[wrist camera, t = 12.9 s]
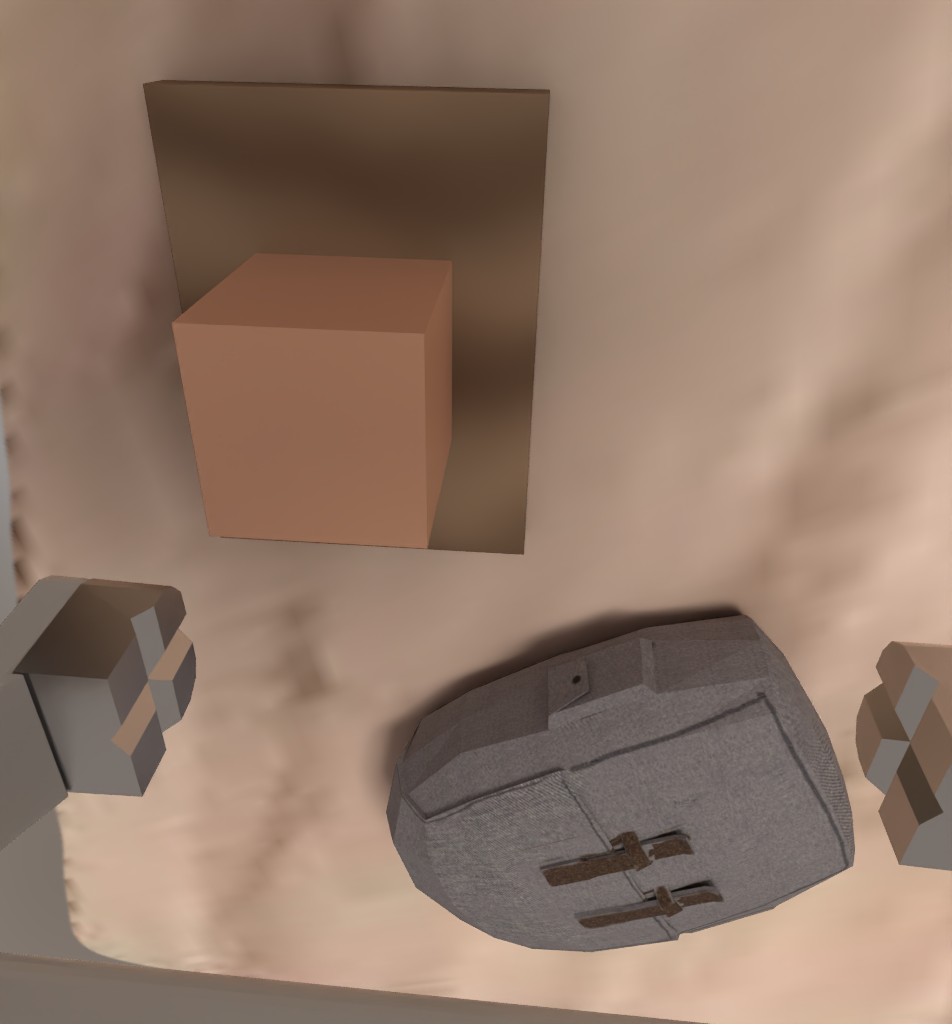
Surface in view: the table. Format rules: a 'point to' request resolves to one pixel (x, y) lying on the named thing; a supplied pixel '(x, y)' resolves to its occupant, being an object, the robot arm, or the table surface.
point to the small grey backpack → (624, 792)
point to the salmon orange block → (321, 398)
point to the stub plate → (383, 235)
